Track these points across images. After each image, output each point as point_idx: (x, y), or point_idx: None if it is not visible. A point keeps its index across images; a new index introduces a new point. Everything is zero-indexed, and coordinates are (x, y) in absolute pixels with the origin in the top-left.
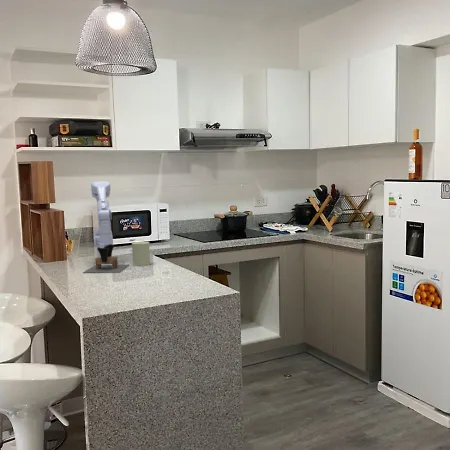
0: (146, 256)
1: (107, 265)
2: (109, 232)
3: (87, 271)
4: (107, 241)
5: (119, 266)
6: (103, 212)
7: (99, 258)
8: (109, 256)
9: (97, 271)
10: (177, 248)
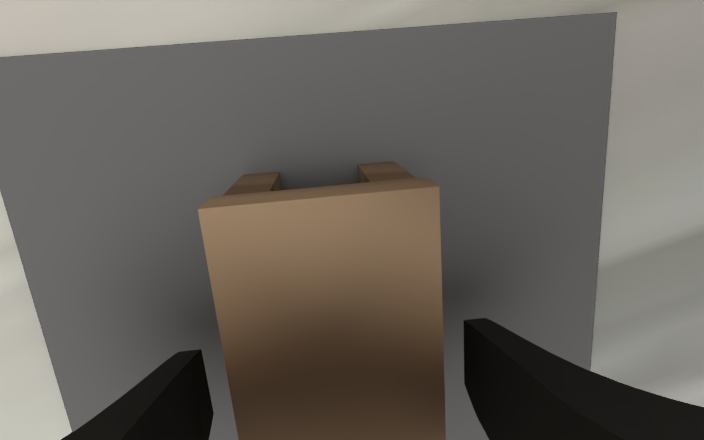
0: None
1: (556, 225)
2: None
3: (52, 107)
4: None
5: (459, 408)
6: None
7: (216, 307)
8: (445, 422)
9: (77, 264)
10: None
